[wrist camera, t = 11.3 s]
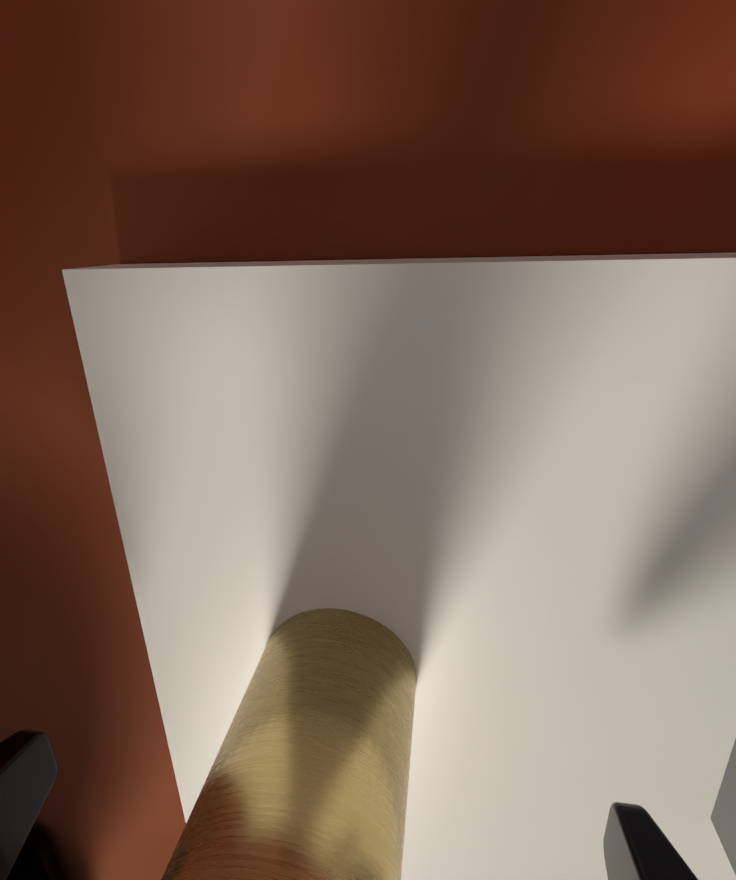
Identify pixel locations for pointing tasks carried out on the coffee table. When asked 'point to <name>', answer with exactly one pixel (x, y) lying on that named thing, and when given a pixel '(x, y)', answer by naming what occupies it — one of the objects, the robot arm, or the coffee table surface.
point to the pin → (310, 761)
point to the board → (447, 523)
